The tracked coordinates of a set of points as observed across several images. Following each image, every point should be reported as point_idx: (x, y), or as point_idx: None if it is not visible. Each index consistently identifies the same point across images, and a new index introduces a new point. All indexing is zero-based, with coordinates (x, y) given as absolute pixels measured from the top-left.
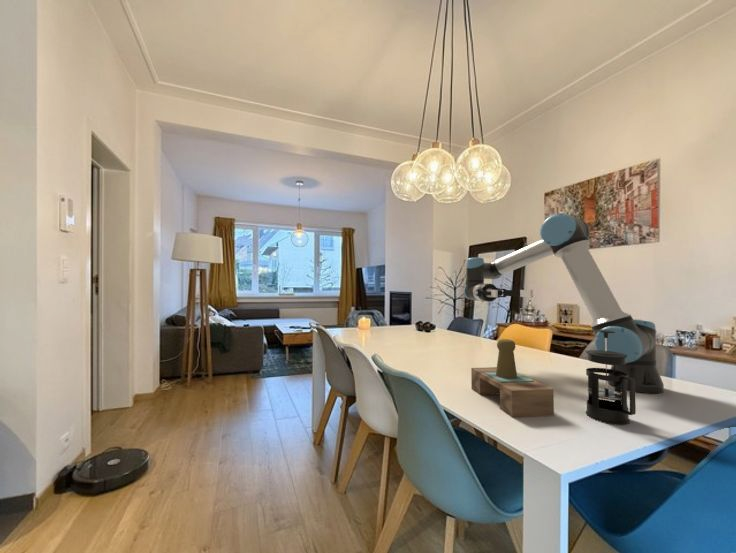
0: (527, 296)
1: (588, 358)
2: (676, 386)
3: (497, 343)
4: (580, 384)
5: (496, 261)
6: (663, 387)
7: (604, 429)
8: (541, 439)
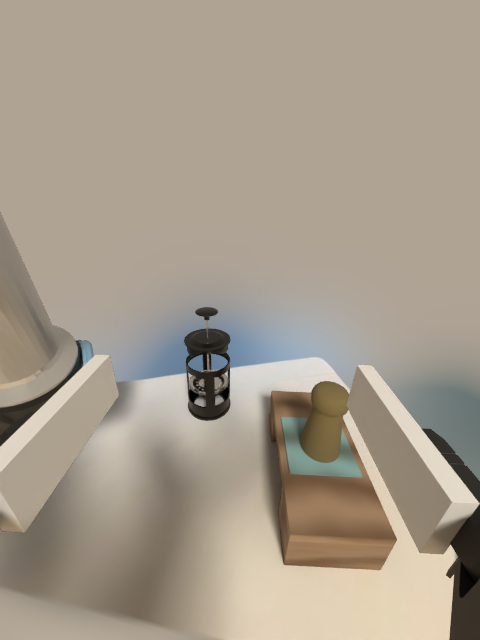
0: (98, 418)
1: (224, 351)
2: None
3: None
4: (52, 558)
5: None
6: None
7: (240, 386)
8: (313, 382)
